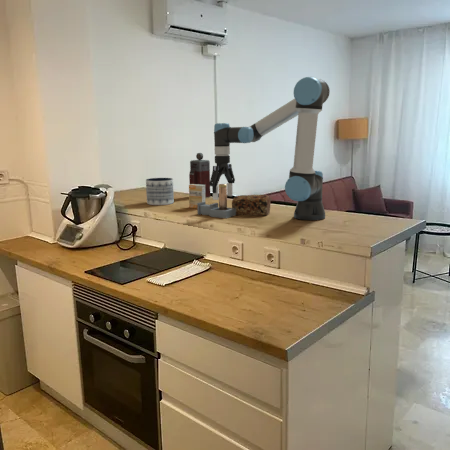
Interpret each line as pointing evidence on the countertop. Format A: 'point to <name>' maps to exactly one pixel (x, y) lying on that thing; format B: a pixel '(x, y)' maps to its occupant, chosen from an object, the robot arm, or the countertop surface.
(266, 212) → the bread
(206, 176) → the coffee press
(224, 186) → the pipe stub
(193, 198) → the supplement box
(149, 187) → the planter
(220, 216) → the grey ring bracket
